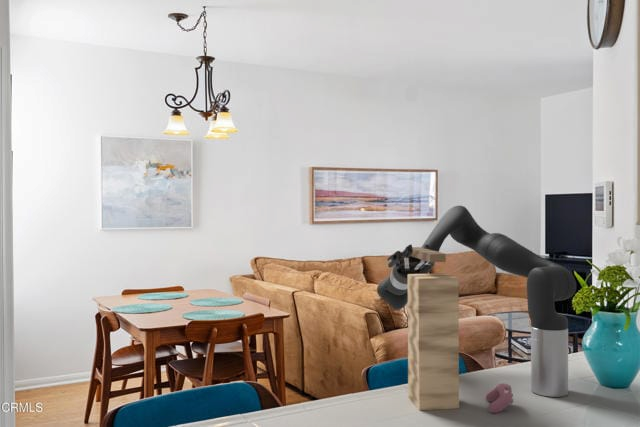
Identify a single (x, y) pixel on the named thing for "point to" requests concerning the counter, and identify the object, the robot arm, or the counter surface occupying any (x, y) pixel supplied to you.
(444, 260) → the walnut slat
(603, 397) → the counter surface
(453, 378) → the wooden block tower
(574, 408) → the counter surface
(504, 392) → the pink curved piece
